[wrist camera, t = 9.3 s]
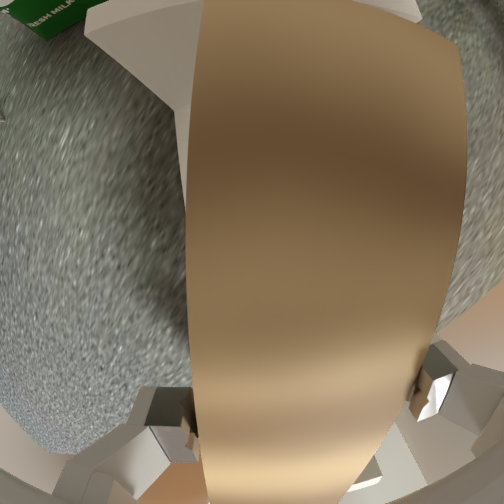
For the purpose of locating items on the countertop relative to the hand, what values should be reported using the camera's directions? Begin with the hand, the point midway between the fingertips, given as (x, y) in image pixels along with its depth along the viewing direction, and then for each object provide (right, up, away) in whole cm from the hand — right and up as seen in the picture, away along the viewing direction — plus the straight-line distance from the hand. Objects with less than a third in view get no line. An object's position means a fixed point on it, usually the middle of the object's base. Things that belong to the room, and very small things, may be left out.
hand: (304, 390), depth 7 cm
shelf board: (0, 0, +2) cm, 2 cm away
